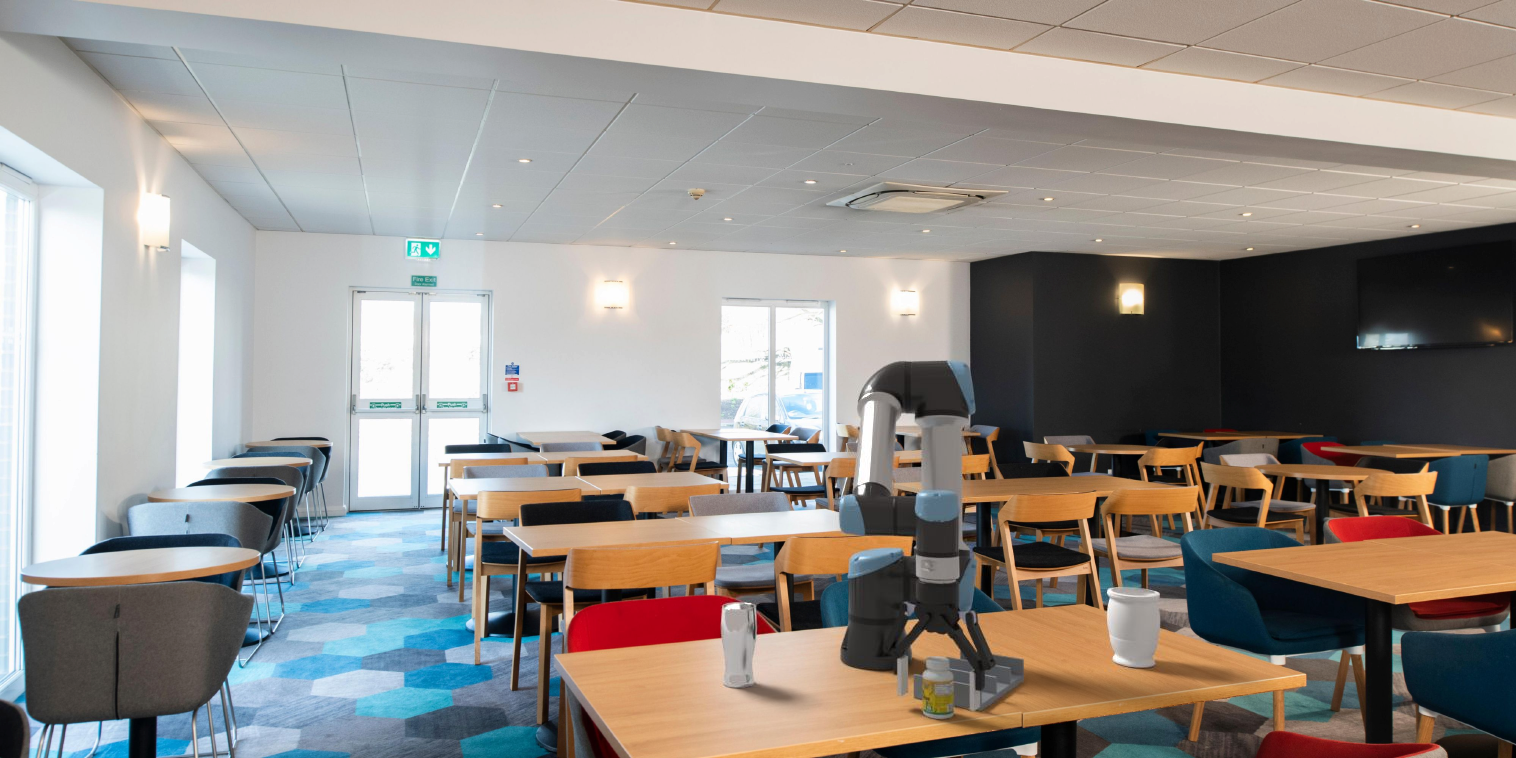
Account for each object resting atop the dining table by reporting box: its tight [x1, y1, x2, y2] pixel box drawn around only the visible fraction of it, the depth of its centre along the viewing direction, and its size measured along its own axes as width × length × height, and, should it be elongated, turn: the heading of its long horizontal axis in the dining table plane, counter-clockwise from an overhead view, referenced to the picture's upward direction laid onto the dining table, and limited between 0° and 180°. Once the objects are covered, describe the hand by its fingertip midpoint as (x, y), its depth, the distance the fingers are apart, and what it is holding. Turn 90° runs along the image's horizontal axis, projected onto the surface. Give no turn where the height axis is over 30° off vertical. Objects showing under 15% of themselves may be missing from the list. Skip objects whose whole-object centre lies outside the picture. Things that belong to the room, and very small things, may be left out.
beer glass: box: [720, 601, 758, 689], centre depth 178 cm, size 7×7×15 cm
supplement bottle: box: [921, 656, 955, 720], centre depth 160 cm, size 5×5×10 cm
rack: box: [913, 649, 1025, 712], centre depth 174 cm, size 13×22×4 cm, turn 145°
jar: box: [1106, 586, 1161, 669], centre depth 192 cm, size 11×10×15 cm
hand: (938, 701), depth 160 cm, fingers open, 13 cm apart
